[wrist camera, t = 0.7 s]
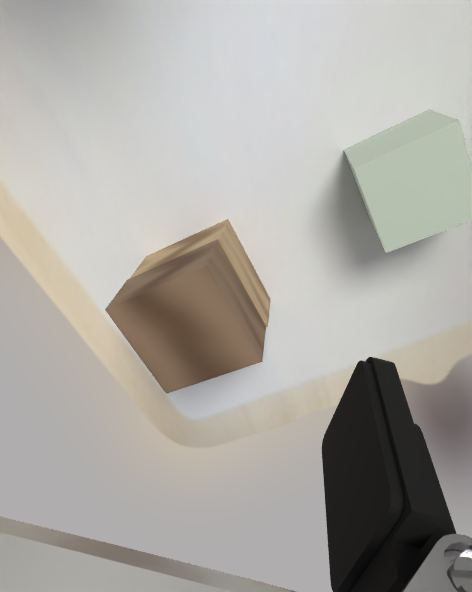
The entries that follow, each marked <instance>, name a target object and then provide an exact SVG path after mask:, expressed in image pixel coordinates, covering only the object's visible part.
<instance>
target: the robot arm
mask: <svg viewBox="0 0 472 592" xmlns="http://www.w3.org/2000/svg"><path fill="white" fill-rule="evenodd" d="M322 459H323V474H324V487H325V504H326V517H327V534H328V547H329V548H328V549H329V564H330V578H331V587H332V590H333V592H472V538H470V537H468V536H465V535H458V534H456V531H455V528H454V525H453V522H452V520H451V516H450V514H449V510H448V507H447V505H446V502H445V499H444V496H443V492H442V489H441V487H440V484H439V481H438V478H437V475H436V472H435V469H434V466H433V463H432V460H431V457H430V454H429V451H428V448H427V445H426V442H425V439H424V436H423V433H422V431H421V429H420V427H419V426H418V425H417V424H414V422H413V419H412V416H411V413H410V410H409V407H408V403H407V400H406V397H405V394H404V391H403V388H402V385H401V382H400V379H399V375H398V372H397V369H396V366H395V364H394V363H393V362H389V361H385V360H381V359H377V358H373V357H369V358H368V359H367V360H366V362H364V361H359V362H358V364H357V365H356V368H355V370H354V372H353V374H352V376H351V378H350V381H349V383H348V385H347V387H346V389H345V391H344V394H343V396H342V398H341V400H340V402H339V405H338V407H337V409H336V411H335V413H334V415H333V418H332V420H331V422H330V424H329V426H328V429H327V431H326V433H325V435H324V438H323V443H322ZM0 592H295V591H292V590H288V589H284V588H281V587H277V586H273V585H269V584H266V583H262V582H258V581H255V580H251V579H247V578H244V577H240V576H236V575H232V574H228V573H224V572H220V571H216V570H212V569H208V568H204V567H200V566H196V565H192V564H188V563H184V562H180V561H177V560H172V559H169V558H165V557H161V556H156V555H153V554H148V553H145V552H141V551H137V550H133V549H129V548H125V547H121V546H117V545H113V544H109V543H105V542H101V541H97V540H93V539H89V538H85V537H80V536H77V535H73V534H68V533H65V532H60V531H57V530H53V529H49V528H45V527H41V526H37V525H32V524H28V523H24V522H20V521H16V520H12V519H8V518H4V517H0Z"/></svg>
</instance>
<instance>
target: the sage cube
mask: <svg viewBox="0 0 472 592" xmlns="http://www.w3.org/2000/svg"><path fill="white" fill-rule="evenodd" d="M344 152H345V155H346V157H347V160H348V162H349V165H350V168H351V170H352V173H353V176H354V178H355V181H356V183H357V186H358V189H359V191H360V194H361V197H362V199H363V202H364V204H365V207H366V210H367V212H368V215H369V218H370V220H371V223H372V225H373V227H374V229H375V231H376V234H377V236H378V238H379V240H380V242H381V244H382V246H383V248H384V251H385V253H388V252H390V251H393V250H396V249H398V248H401V247H403V246H406V245H409V244H411V243H414V242H417V241H419V240H422V239H424V238H427V237H430V236H432V235H435V234H437V233H440V232H443V231H445V230H448V229H451V228H453V227H456V226H458V225H461V224H464V223H466V222H469V221H472V168H471V164H470V160H469V156H468V152H467V148H466V145H465V141H464V137H463V133H462V129H461V126H460V122H459V120H457V119H454V118H451V117H449V116H446V115H443V114H441V113H438V112H436V111H433V110H430V109H429V110H427V111H425V112H423V113H421V114H419V115H416V116H414V117H412V118H410V119H408V120H406V121H404V122H402V123H400V124H397V125H395V126H393V127H391V128H389V129H387V130H385V131H383V132H380V133H378V134H376V135H374V136H372V137H370V138H368V139H366V140H364V141H361V142H359V143H357V144H355V145H353V146H351V147H349V148H347V149H345V150H344Z"/></svg>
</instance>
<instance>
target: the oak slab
mask: <svg viewBox="0 0 472 592" xmlns="http://www.w3.org/2000/svg"><path fill="white" fill-rule="evenodd" d="M217 239H218V241H219V242H220V244H221V246H222V248H223V250H224V251H225V253H226V255H227V257H228V259H229V260H230V262H231V264H232V266H233V268H234V269H235V271H236V273H237V275H238V277H239V278H240V280H241V282H242V284H243V286H244V287H245V289H246V291H247V293H248V295H249V296H250V298H251V300H252V302H253V304H254V305H255V307H256V309H257V311H258V313H259V314H260V316H261V318H262V320H263V322H264V323H265V325H266V327H267V326H268V317H269V307H270V298H269V296H268V294H267V292H266V290H265V288H264V286H263V284H262V282H261V281H260V279H259V277H258V275H257V273H256V271H255V269H254V267H253V265H252V263H251V262H250V260H249V258H248V256H247V254H246V252H245V250H244V248H243V246H242V244H241V243H240V241H239V239H238V237H237V235H236V233H235V231H234V229H233V227H232V225H231V224H230V222H229V220H228V219H227V220H225V221H223V222H220V223H218V224H216V225H214V226H212V227H210V228H207V229H205V230H203V231H201V232H199V233H196V234H194V235H192V236H190V237H188V238H186V239H183V240H181V241H179V242H177V243H175V244H172V245H170V246H168V247H166V248H164V249H162V250H159V251H157V252H155V253H153V254H151V255H148V256H146V258H145V259H144V260H143V262H142V263H141V264H140V266H139V267H138V268H137V270H136V271H135V272H134V274H133V275H132V276H131V278H132V277H135V276H137V275H139V274H141V273H143V272H146V271H148V270H150V269H152V268H155V267H157V266H159V265H161V264H163V263H166V262H168V261H170V260H172V259H174V258H177V257H179V256H181V255H183V254H186V253H188V252H190V251H192V250H194V249H197V248H199V247H201V246H203V245H206V244H208V243H210V242H212V241H214V240H217Z"/></svg>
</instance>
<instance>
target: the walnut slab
mask: <svg viewBox="0 0 472 592" xmlns="http://www.w3.org/2000/svg"><path fill="white" fill-rule="evenodd" d="M105 310H106V312H107V313H108V314H109V316H110V317H111V318H112V320H113V321H114V323H115V324H116V325H117V327H118V328H119V329H120V331H121V332H122V334H123V335H124V336H125V338H126V339H127V340H128V342H129V343H130V344H131V346H132V347H133V349H134V350H135V351H136V353H137V354H138V355H139V357H140V358H141V360H142V361H143V362H144V364H145V365H146V366H147V368H148V369H149V370H150V372H151V373H152V375H153V376H154V377H155V379H156V380H157V381H158V383H159V384H160V386H161V387H162V388H163V390H164V391H165V392H166V394H167V393H170V392H173V391H176V390H179V389H182V388H185V387H188V386H191V385H194V384H197V383H200V382H203V381H206V380H209V379H211V378H214V377H217V376H220V375H223V374H226V373H229V372H232V371H235V370H238V369H241V368H244V367H247V366H250V365H253V364H256V363H259V362H262V358H263V349H264V340H265V330H266V325H265V323H264V322H263V320H262V318H261V316H260V314H259V313H258V311H257V309H256V307H255V305H254V304H253V302H252V300H251V298H250V296H249V295H248V293H247V291H246V289H245V287H244V286H243V284H242V282H241V280H240V278H239V277H238V275H237V273H236V271H235V269H234V268H233V266H232V264H231V262H230V260H229V259H228V257H227V255H226V253H225V251H224V250H223V248H222V246H221V244H220V242H219V241H218V239H217V240H214V241H212V242H210V243H208V244H206V245H203V246H201V247H199V248H197V249H194V250H192V251H190V252H188V253H186V254H183V255H181V256H179V257H177V258H174V259H172V260H170V261H168V262H166V263H163V264H161V265H159V266H157V267H155V268H152V269H150V270H148V271H146V272H143V273H141V274H139V275H137V276H135V277H132V278H130V279H128V280H127V281H126V282H125V284H124V285H123V286H122V288H121V289H120V290H119V292H118V293H117V294H116V296H115V297H114V299H113V300H112V301H111V303H110V304H109V305H108V307H107V308H106V309H105Z"/></svg>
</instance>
